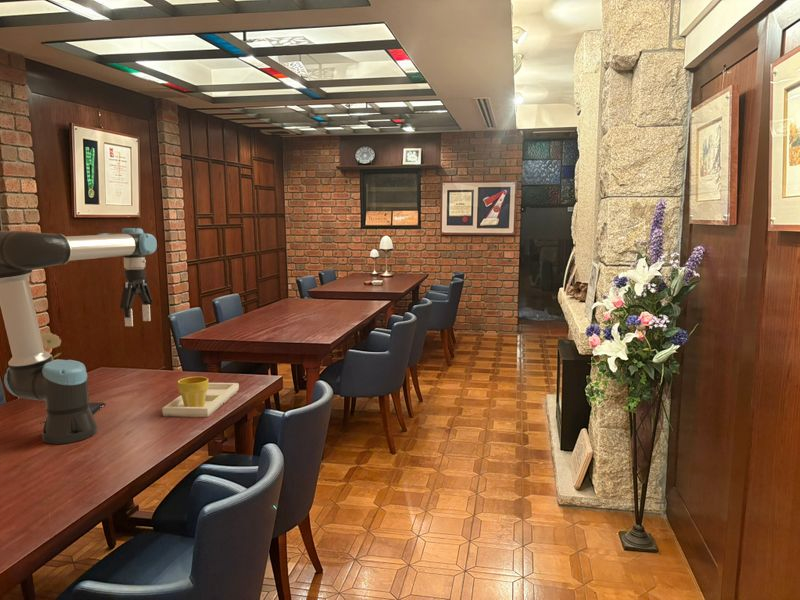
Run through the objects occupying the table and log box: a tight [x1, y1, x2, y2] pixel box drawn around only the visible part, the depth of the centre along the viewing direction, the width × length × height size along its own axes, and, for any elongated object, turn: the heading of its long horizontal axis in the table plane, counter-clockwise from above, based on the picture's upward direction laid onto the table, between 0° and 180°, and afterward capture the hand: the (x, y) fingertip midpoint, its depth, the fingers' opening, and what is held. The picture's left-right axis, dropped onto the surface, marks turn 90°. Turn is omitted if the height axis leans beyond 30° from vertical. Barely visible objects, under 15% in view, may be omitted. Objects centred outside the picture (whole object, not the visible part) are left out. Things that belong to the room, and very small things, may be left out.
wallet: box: [39, 402, 107, 425], centre depth 201 cm, size 20×2×15 cm
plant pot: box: [177, 376, 210, 407], centre depth 204 cm, size 10×10×10 cm
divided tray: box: [161, 382, 240, 418], centre depth 212 cm, size 31×16×3 cm, turn 176°
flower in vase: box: [40, 332, 62, 361], centre depth 220 cm, size 13×11×25 cm
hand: (138, 323), depth 221 cm, fingers open, 13 cm apart
